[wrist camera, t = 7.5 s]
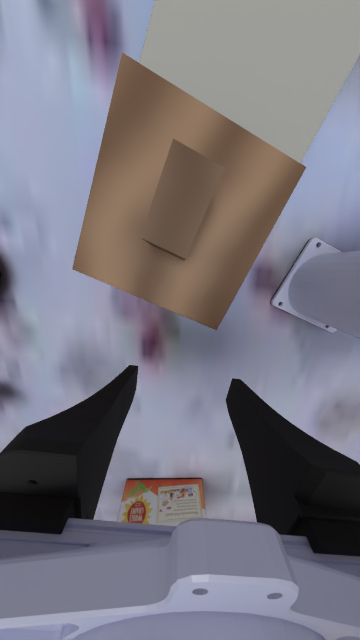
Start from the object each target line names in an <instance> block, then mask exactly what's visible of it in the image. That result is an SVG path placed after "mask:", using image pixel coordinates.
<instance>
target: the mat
mask: <svg viewBox="0 0 360 640" xmlns="http://www.w3.org/2000/svg"><path fill="white" fill-rule="evenodd" d="M359 55H360V0H155V2H154V6H153V10H152V13H151V17H150V21H149V25H148V29H147V33H146V37H145V41H144V45H143V49H142V53H141V56H140V60H139V63H140V64H141V65H143V66H145V67H146V68H148V69H149V70H151V71H153V72H154V73H156V74H157V75H159V76H161V77H162V78H164V79H165V80H167V81H169V82H170V83H172V84H174V85H175V86H177V87H178V88H180V89H182V90H183V91H185V92H186V93H188V94H190V95H191V96H193V97H194V98H196V99H198V100H199V101H201V102H202V103H204V104H206V105H207V106H209V107H210V108H212V109H214V110H215V111H217V112H218V113H220V114H222V115H223V116H225V117H227V118H228V119H230V120H231V121H233V122H235V123H236V124H238V125H239V126H241V127H243V128H244V129H246V130H247V131H249V132H251V133H252V134H254V135H255V136H257V137H259V138H260V139H262V140H263V141H265V142H267V143H268V144H270V145H271V146H273V147H275V148H276V149H278V150H279V151H281V152H283V153H284V154H286V155H288V156H289V157H291V158H292V159H294V160H296V161H297V162H299V163H300V164H301V162H302V160H303V158H304V156H305V155H306V153H307V151H308V149H309V147H310V145H311V143H312V142H313V140H314V138H315V136H316V134H317V132H318V131H319V129H320V127H321V125H322V123H323V121H324V119H325V118H326V116H327V114H328V112H329V110H330V108H331V106H332V105H333V103H334V101H335V99H336V97H337V95H338V93H339V92H340V90H341V88H342V86H343V84H344V82H345V80H346V79H347V77H348V75H349V73H350V71H351V69H352V68H353V66H354V64H355V62H356V60H357V58H358V56H359Z"/></svg>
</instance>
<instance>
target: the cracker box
mask: <svg viewBox="0 0 360 640" xmlns="http://www.w3.org/2000/svg"><path fill="white" fill-rule="evenodd" d="M194 518H206V509H205V501H204V492H203V484H202V479H152V480H127V481H126V485H125V489H124V493H123V497H122V501H121V506H120V510H119V514H118V518H117V522H127V523H140V524H152V525H165V526H178V525H179V523H181V522H183V521H186V520H188V519H194Z"/></svg>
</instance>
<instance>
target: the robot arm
mask: <svg viewBox="0 0 360 640" xmlns="http://www.w3.org/2000/svg"><path fill="white" fill-rule="evenodd" d="M317 243H318V247H316V244H317ZM279 302H281V304H280V305H278V303H279ZM271 304H272V305H273V306H276V307H278V308H280V309H282V310H284V311H286V312H288V313H290V314H292V315H295V316H297V317H299V318H301V319H303V320H305V321H307V322H309V323H312V324H314V325H316V326H318V327H320V328H322V329H324V330H326V331H328V332H331V333H334V332H336V331H337V330H341V331H343V332H346V333H348V334H351V335H353V336H356V337H358V338H360V251H350V252H341V251H340V250H338V249H336V248H334V247H332V246H331V245H329V244H327V243H325V242H323V241H322V240H320V239H318V238H312V239H310V240H309V241H308V243H307V245H306V246H305V248H304V249H303V251H302V253H301V254H300V256H299V257H298V259H297V261H296V262H295V264H294V265H293V267H292V269H291V270H290V272H289V273H288V275H287V277H286V278H285V280H284V281H283V283H282V285H281V286H280V288H279V289H278V291H277V293H276V294H275V296H274V297H273V299H272V301H271ZM326 325H327V326H326ZM325 326H326V327H325ZM137 374H138V366H134V365H129V366H128V367H127V368H126V369H125V370H124V371H123V372H122V373H121V374H119V375H118V376H117V377H116V378H115V379H114V380H112V381H111V382H110V383H109V384H107V385H106V386H105V387H104V388H102V389H101V390H99V391H98V392H97V393H95V394H94V395H92V396H91V397H89V398H87V399H86V400H84V401H82V402H80V403H79V404H77V405H75V406H73V407H71V408H69V409H67V410H65V411H63V412H61V413H59V414H56V415H54V416H52V417H50V418H47V419H45V420H42V421H39V422H37V423H34V424H32V425H29V426H26V427H25V428H24V429H23V430H22V431H21V432H20V433H19V434H18V435H17V436H16V437H15V438H14V439H13V440H12V441H11V442H10V443H9V444H8V445H7V446H6V447H5V449H4V450H3V451H2V452H1V453H0V640H360V465H359V463H358V462H356V461H354V460H352V459H350V458H348V457H347V456H345V455H343V454H341V453H339V452H337V451H335V450H333V449H331V448H330V447H328V446H326V445H324V444H323V443H321V442H319V441H318V440H316V439H314V438H313V437H311V436H309V435H308V434H306V433H305V432H303V431H302V430H300V429H299V428H297V427H296V426H294V425H293V424H292V423H290V422H289V421H288V420H286V419H285V418H284V417H282V416H281V415H280V414H278V413H277V412H276V411H275V410H273V409H272V408H271V407H270V406H269V405H268V404H266V403H265V402H264V401H263V400H262V399H261V398H260V397H259V396H258V395H257V394H255V393H254V392H253V391H252V390H251V389H250V388H249V387H248V386H247V385H246V384H245V383H244V382H243V381H241V380H240V379H233V378H232V381H231V385H230V388H229V391H228V394H227V398H226V403H227V408H228V412H229V416H230V419H231V422H232V425H233V427H234V430H235V433H236V436H237V439H238V442H239V445H240V448H241V451H242V455H243V459H244V463H245V467H246V471H247V475H248V480H249V484H250V489H251V493H252V498H253V503H254V508H255V513H256V519H257V522H246V521H234V520H222V519H210V518H194V519H188V520H186V521H183V522H181V523H179V525H178V526H165V525H152V524H140V523H127V522H115V521H102V520H93V518H94V515H95V511H96V508H97V504H98V501H99V497H100V494H101V490H102V487H103V484H104V480H105V477H106V474H107V470H108V467H109V464H110V461H111V457H112V454H113V451H114V448H115V445H116V441H117V438H118V436H119V433H120V431H121V428H122V426H123V423H124V421H125V418H126V416H127V414H128V411H129V409H130V406H131V404H132V401H133V398H134V394H135V391H136V385H137Z"/></svg>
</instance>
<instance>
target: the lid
mask: <svg viewBox="0 0 360 640" xmlns="http://www.w3.org/2000/svg"><path fill="white" fill-rule="evenodd" d="M305 168H306V167H305V166H304V165H302V164H300V163H299V162H297V161H296V160H294V159H292V158H291V157H289V156H288V155H286V154H284V153H283V152H281V151H279V150H278V149H276V148H275V147H273V146H271V145H270V144H268V143H267V142H265V141H263V140H262V139H260V138H259V137H257V136H255V135H254V134H252V133H251V132H249V131H247V130H246V129H244V128H243V127H241V126H239V125H238V124H236V123H235V122H233V121H231V120H230V119H228V118H227V117H225V116H223V115H222V114H220V113H218V112H217V111H215V110H214V109H212V108H210V107H209V106H207V105H206V104H204V103H202V102H201V101H199V100H198V99H196V98H194V97H193V96H191V95H190V94H188V93H186V92H185V91H183V90H182V89H180V88H178V87H177V86H175V85H174V84H172V83H170V82H169V81H167V80H165V79H164V78H162V77H161V76H159V75H157V74H156V73H154V72H153V71H151V70H149V69H148V68H146V67H145V66H143V65H141V64H140V63H138V62H137V61H135V60H133V59H132V58H130V57H129V56H127V55H125V54H124V53H122V56H121V60H120V65H119V69H118V73H117V78H116V82H115V86H114V91H113V95H112V99H111V104H110V108H109V112H108V117H107V121H106V125H105V130H104V134H103V138H102V143H101V147H100V151H99V156H98V160H97V164H96V169H95V173H94V177H93V182H92V186H91V190H90V195H89V199H88V204H87V208H86V212H85V217H84V221H83V225H82V230H81V234H80V238H79V243H78V247H77V251H76V256H75V260H74V264H73V270H76V271H78V272H81V273H83V274H85V275H88V276H90V277H92V278H95V279H97V280H99V281H102V282H104V283H106V284H109V285H111V286H114V287H116V288H118V289H121V290H123V291H125V292H128V293H130V294H132V295H135V296H137V297H139V298H142V299H144V300H147V301H149V302H151V303H154V304H156V305H158V306H161V307H163V308H165V309H168V310H170V311H172V312H175V313H177V314H179V315H182V316H184V317H187V318H189V319H191V320H194V321H196V322H198V323H201V324H203V325H205V326H208V327H210V328H212V329H215V330H217V328H218V327H219V325H220V323H221V321H222V319H223V317H224V316H225V314H226V312H227V310H228V308H229V307H230V305H231V303H232V301H233V299H234V297H235V296H236V294H237V292H238V290H239V288H240V287H241V285H242V283H243V281H244V279H245V277H246V276H247V274H248V272H249V270H250V268H251V267H252V265H253V263H254V261H255V259H256V258H257V256H258V254H259V252H260V250H261V248H262V247H263V245H264V243H265V241H266V239H267V238H268V236H269V234H270V232H271V230H272V228H273V227H274V225H275V223H276V221H277V219H278V218H279V216H280V214H281V212H282V210H283V208H284V207H285V205H286V203H287V201H288V199H289V198H290V196H291V194H292V192H293V190H294V188H295V187H296V185H297V183H298V181H299V179H300V178H301V176H302V174H303V172H304V170H305Z"/></svg>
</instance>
